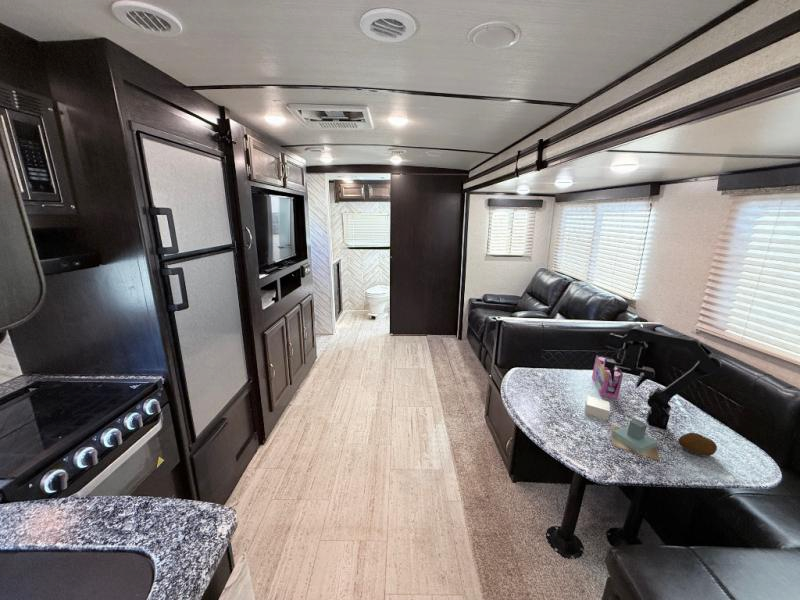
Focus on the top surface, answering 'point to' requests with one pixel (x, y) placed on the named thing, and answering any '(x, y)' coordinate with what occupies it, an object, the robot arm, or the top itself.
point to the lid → (635, 436)
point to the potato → (697, 444)
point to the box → (597, 407)
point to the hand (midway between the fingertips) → (624, 384)
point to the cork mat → (615, 442)
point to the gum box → (606, 378)
